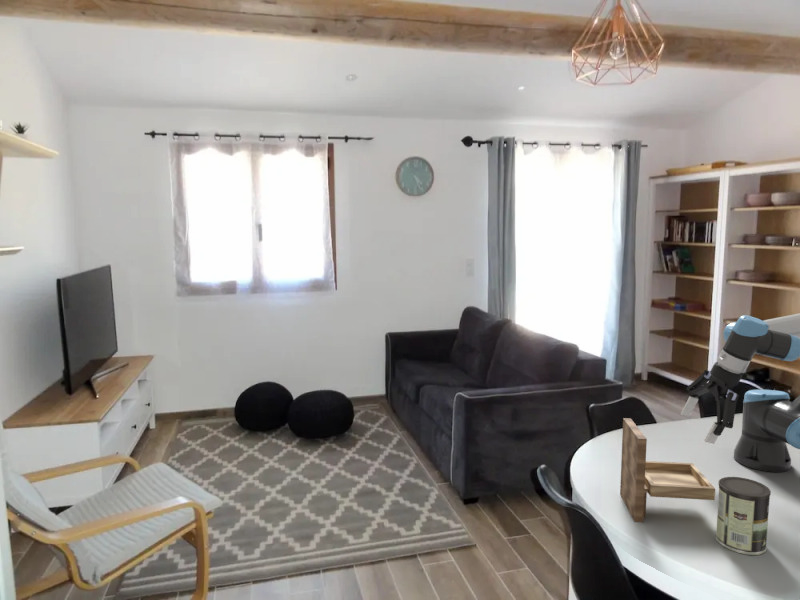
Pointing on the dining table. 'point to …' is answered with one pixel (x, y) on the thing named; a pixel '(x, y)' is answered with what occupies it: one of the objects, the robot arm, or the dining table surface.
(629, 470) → the bracket
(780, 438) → the robot arm
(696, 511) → the dining table surface
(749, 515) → the coffee can
